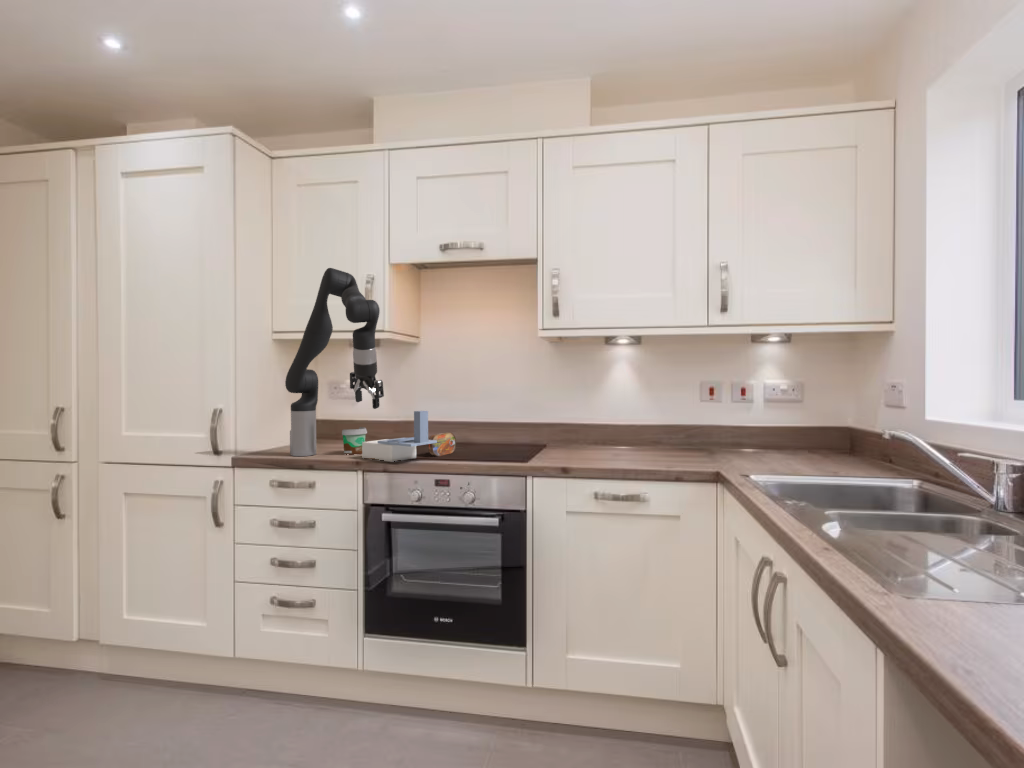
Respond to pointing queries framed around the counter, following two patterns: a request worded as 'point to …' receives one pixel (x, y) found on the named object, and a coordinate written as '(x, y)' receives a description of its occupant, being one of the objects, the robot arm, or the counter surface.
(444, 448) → the tin
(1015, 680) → the counter surface
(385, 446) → the tub
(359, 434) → the food container
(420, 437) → the lid
